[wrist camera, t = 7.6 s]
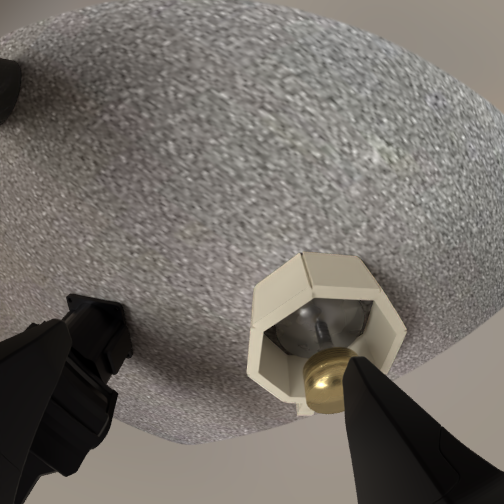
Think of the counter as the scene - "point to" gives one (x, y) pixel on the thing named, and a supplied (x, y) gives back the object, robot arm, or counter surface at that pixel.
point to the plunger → (323, 347)
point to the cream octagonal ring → (299, 293)
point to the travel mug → (8, 86)
